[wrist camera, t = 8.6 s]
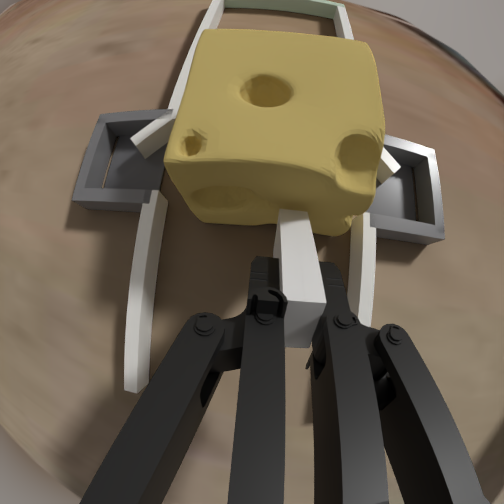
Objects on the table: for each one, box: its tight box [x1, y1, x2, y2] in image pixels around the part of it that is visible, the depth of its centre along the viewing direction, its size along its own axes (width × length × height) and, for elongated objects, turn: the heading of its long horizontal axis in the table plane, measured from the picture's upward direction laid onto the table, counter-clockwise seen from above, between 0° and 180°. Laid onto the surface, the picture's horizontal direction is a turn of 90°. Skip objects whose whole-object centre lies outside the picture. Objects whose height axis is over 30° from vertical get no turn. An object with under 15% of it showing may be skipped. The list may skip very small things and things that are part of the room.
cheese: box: [163, 29, 385, 236], centre depth 16 cm, size 10×11×10 cm
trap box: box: [72, 0, 445, 393], centre depth 20 cm, size 29×43×2 cm
